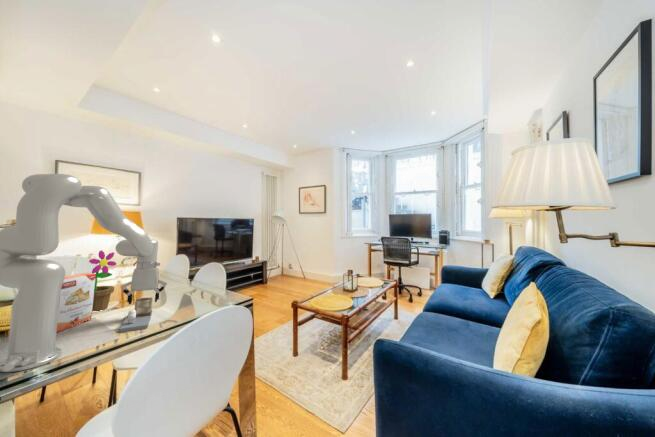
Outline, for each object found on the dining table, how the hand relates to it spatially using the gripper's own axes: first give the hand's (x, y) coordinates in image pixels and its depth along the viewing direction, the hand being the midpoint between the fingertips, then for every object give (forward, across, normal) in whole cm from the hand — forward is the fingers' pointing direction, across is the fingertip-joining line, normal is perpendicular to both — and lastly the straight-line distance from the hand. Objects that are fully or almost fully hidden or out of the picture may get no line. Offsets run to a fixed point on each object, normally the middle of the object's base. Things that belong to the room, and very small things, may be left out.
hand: (143, 302), depth 112 cm
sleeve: (+6, 0, 0) cm, 6 cm away
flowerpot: (+7, +22, -22) cm, 32 cm away
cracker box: (+8, +25, -2) cm, 26 cm away
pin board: (+7, +1, +5) cm, 9 cm away
